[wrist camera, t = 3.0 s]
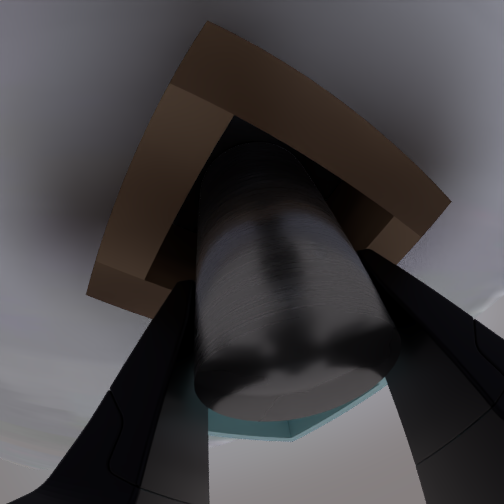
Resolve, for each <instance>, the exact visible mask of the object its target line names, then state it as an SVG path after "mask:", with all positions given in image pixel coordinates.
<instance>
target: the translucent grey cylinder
mask: <svg viewBox="0 0 504 504" xmlns="http://www.w3.org/2000/svg"><path fill="white" fill-rule="evenodd" d="M400 352H401V338H400V335H399V333H398V331H397V329H396V327H395V325H394V323H393V321H392V319H391V317H390V315H389V313H388V311H387V309H386V307H385V305H384V303H383V301H382V299H381V297H380V295H379V293H378V291H377V290H376V288H375V286H374V284H373V282H372V280H371V278H370V277H369V275H368V273H367V271H366V269H365V268H364V266H363V264H362V262H361V260H360V259H359V257H358V255H357V253H356V252H355V250H354V248H353V246H352V245H351V243H350V241H349V239H348V238H347V236H346V234H345V233H344V231H343V229H342V228H341V226H340V224H339V223H338V221H337V219H336V218H335V216H334V214H333V213H332V211H331V209H330V208H329V206H328V205H327V203H326V201H325V200H324V198H323V197H322V195H321V193H320V192H319V190H318V189H317V187H316V186H315V184H314V182H313V181H312V179H311V178H310V176H309V175H308V173H307V172H306V170H305V169H304V167H303V166H302V164H301V163H300V162H299V160H298V159H297V158H296V157H295V156H294V155H293V154H292V153H290V152H289V151H287V150H286V149H284V148H282V147H280V146H277V145H274V144H271V143H266V142H249V143H244V144H240V145H237V146H234V147H232V148H230V149H228V150H226V151H225V152H223V153H222V154H220V155H219V156H218V157H217V158H216V159H215V160H214V161H213V162H212V163H211V164H210V166H209V167H208V169H207V170H206V172H205V174H204V177H203V180H202V183H201V190H200V203H199V219H198V235H197V255H196V278H195V310H194V389H195V393H196V395H197V397H198V398H199V400H200V401H201V402H202V403H203V404H204V405H205V406H206V407H208V408H209V409H211V410H213V411H214V412H217V413H219V414H221V415H224V416H227V417H231V418H235V419H240V420H246V421H257V422H272V421H285V420H293V419H299V418H304V417H308V416H312V415H316V414H320V413H323V412H326V411H329V410H331V409H334V408H337V407H339V406H341V405H344V404H346V403H348V402H350V401H352V400H354V399H355V398H357V397H359V396H361V395H362V394H364V393H365V392H367V391H368V390H370V389H371V388H373V387H374V386H375V385H376V384H378V383H379V382H380V381H381V380H382V379H383V378H384V377H385V376H386V375H387V374H388V373H389V372H390V370H391V369H392V368H393V367H394V365H395V363H396V361H397V360H398V357H399V355H400Z"/></svg>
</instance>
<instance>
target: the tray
mask: <svg viewBox="0 0 504 504" xmlns="http://www.w3.org/2000/svg"><path fill="white" fill-rule="evenodd" d="M386 385H388V384H387V381H386V379H385V377H384V378H383V379H382V380H381V381H380V382H379V383H378V384H376V385H375V386H374V387H373V388H371V389H370V390H368V391H367V392H365V393H364V394H362V395H361V396H359V397H357V398H355V399H354V400H352V401H350V402H348V403H346V404H344V405H341V406H339V407H337V408H334V409H331V410H329V411H326V412H323V413H320V414H316V415H312V416H308V417H304V418H299V419H293V420H285V421H272V422H257V421H246V420H240V419H235V418H231V417H227V416H224V415H221V414H219V413H217V412H214V411H213V410H211V409H209V408H208V435H211V436H219V437H228V438H238V439H250V440H265V441H290V442H291V441H292V442H293V441H295V440H297V439H299V438H301V437H303V436H305V435H306V434H308V433H310V432H312V431H314V430H316V429H318V428H319V427H321V426H323V425H325V424H326V423H328V422H330V421H331V420H333V419H335V418H337V417H338V416H340V415H342V414H343V413H345V412H347V411H348V410H350V409H352V408H353V407H355V406H356V405H358V404H359V403H361V402H362V401H364V400H365V399H367V398H369V397H370V396H372V395H373V394H375V393H376V392H377V391H379V390H381V389H382V388H383V387H385V386H386Z"/></svg>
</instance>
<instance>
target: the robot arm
mask: <svg viewBox="0 0 504 504" xmlns="http://www.w3.org/2000/svg"><path fill="white" fill-rule="evenodd" d="M356 253H357V255H358V257H359V259H360V260H361V262H362V264H363V266H364V268H365V269H366V271H367V273H368V275H369V277H370V278H371V280H372V282H373V284H374V286H375V288H376V290H377V291H378V293H379V295H380V297H381V299H382V301H383V303H384V305H385V307H386V309H387V311H388V313H389V315H390V317H391V319H392V321H393V323H394V325H395V327H396V329H397V331H398V333H399V335H400V338H401V352H400V355H399V357H398V360H397V361H396V363H395V365H394V367H393V368H392V369H391V370H390V372H389V373H388V374H387V375H386V376H385V379H386V381H387V384H388V386H389V389H390V392H391V394H392V397H393V400H394V402H395V405H396V408H397V411H398V414H399V417H400V419H401V422H402V425H403V428H404V431H405V434H406V437H407V440H408V443H409V446H410V449H411V452H412V456H413V459H414V462H415V464H416V469H417V472H418V476H419V479H420V482H421V486H422V489H423V493H424V496H425V500H426V504H504V339H503V338H501V337H500V336H498V335H497V334H495V333H494V332H493V331H491V330H490V329H488V328H487V327H485V326H484V325H483V324H481V323H480V322H479V321H477V320H476V319H474V320H473V317H472V316H470V315H469V314H468V313H466V312H465V311H463V310H462V309H461V308H459V307H458V306H456V305H455V304H453V303H452V302H451V301H449V300H448V299H446V298H445V297H443V296H442V295H440V294H439V293H438V292H436V291H435V290H433V289H432V288H430V287H429V286H427V285H426V284H424V283H423V282H421V281H420V280H418V279H417V278H415V277H414V276H412V275H411V274H409V273H408V272H406V271H405V270H403V269H401V268H400V267H398V266H397V265H395V264H394V263H392V262H391V261H389V260H387V259H386V258H384V257H383V256H381V255H380V254H378V253H376V252H375V251H373V250H371V249H363V250H357V251H356ZM194 310H195V281H194V280H192V279H189V280H183V281H179V282H177V283H176V285H175V286H174V288H173V289H172V291H171V292H170V294H169V295H168V297H167V298H166V300H165V301H164V303H163V304H162V306H161V307H160V309H159V310H158V312H157V313H156V315H155V316H154V318H153V320H152V321H151V323H150V324H149V326H148V327H147V329H146V330H145V332H144V334H143V335H142V337H141V338H140V340H139V341H138V343H137V345H136V346H135V348H134V349H133V351H132V353H131V354H130V356H129V357H128V359H127V361H126V362H125V364H124V365H123V367H122V369H121V370H120V372H119V374H118V375H117V377H116V378H115V380H114V382H113V383H112V385H111V387H110V390H109V391H107V393H106V395H105V396H104V398H103V400H102V401H101V403H100V405H99V406H98V408H97V410H96V411H95V413H94V414H93V416H92V418H91V419H90V421H89V422H88V424H87V425H86V426H85V428H84V429H83V431H82V432H81V434H80V435H79V437H78V438H77V439H76V441H75V442H74V444H73V445H72V446H71V448H70V449H69V450H68V452H67V453H66V455H65V456H64V457H63V459H62V460H61V462H60V463H59V464H58V466H57V467H56V469H55V470H54V471H53V473H52V474H51V475H50V477H49V478H48V479H47V480H46V481H45V482H44V483H43V484H42V485H41V486H40V487H38V488H37V489H36V490H34V491H33V492H31V493H29V494H27V495H25V496H23V497H20V498H18V499H16V500H14V501H12V502H10V503H7V504H209V464H208V463H209V460H208V407H206V406H205V405H204V404H203V403H202V402H201V401H200V400H199V398H198V397H197V395H196V393H195V389H194Z"/></svg>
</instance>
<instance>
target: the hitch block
mask: <svg viewBox="0 0 504 504" xmlns="http://www.w3.org/2000/svg"><path fill="white" fill-rule="evenodd" d="M234 115H235V116H237V117H239V118H241V119H243V120H245V121H247V122H248V123H250V124H252V125H254V126H256V127H257V128H259V129H261V130H263V131H265V132H266V133H268V134H270V135H272V136H273V137H275V138H277V139H278V140H280V141H282V142H284V143H285V144H287V145H289V146H290V147H292V148H294V149H295V150H297V151H299V152H300V153H302V154H303V155H305V156H307V157H308V158H310V159H312V160H313V161H315V162H316V163H318V164H319V165H321V166H323V167H324V168H326V169H327V170H329V171H330V172H332V173H333V174H335V175H336V176H338V177H339V178H341V179H342V181H341V183H340V184H339V185H338V187H337V188H336V189H335V190H334V192H333V193H332V194H331V195H330V197H329V198H328V199H327V201H326V203H327V205H328V206H329V208H330V209H331V211H332V213H333V214H334V216H335V218H336V219H337V221H338V223H339V224H340V226H341V228H342V229H343V231H344V233H345V234H346V236H347V238H348V239H349V241H350V243H351V245H352V246H353V248H354V250H355V252H356V251H357V250H363V249H371V250H373V251H375V252H376V253H378V254H380V255H381V256H383V257H384V258H386V259H387V260H389V261H391V262H392V263H394V264H395V265H397V264H398V263H399V261H400V260H401V259H402V258H403V257H404V256H405V255H406V254H407V253H408V252H409V251H410V249H411V248H412V247H413V246H414V245H415V244H416V243H417V242H418V241H419V239H420V238H421V237H422V236H423V235H424V234H425V233H426V231H427V230H428V229H429V228H430V227H431V226H432V225H433V223H434V222H435V221H436V220H437V219H438V217H439V216H440V215H441V214H442V213H443V211H444V210H445V209H446V208H447V207H448V205H449V204H450V203H451V202H452V201H451V200H450V199H449V198H448V197H447V196H446V195H445V194H444V193H443V192H442V191H441V190H440V188H439V187H438V186H437V185H436V184H435V183H434V182H433V181H432V180H431V179H430V178H429V177H428V176H427V175H426V174H425V173H424V172H423V171H422V170H421V169H420V168H419V167H418V166H417V165H416V164H415V163H414V162H412V161H411V160H410V159H409V158H408V157H407V156H406V155H405V154H404V153H403V152H402V151H401V150H400V149H398V148H397V147H396V146H395V145H394V144H393V143H392V142H391V141H390V140H388V139H387V138H386V137H385V136H384V135H383V134H381V133H380V132H379V131H378V130H377V129H376V128H374V127H373V126H372V125H371V124H370V123H368V122H367V121H366V120H365V119H363V118H362V117H361V116H360V115H358V114H357V113H356V112H355V111H353V110H352V109H351V108H349V107H348V106H347V105H346V104H344V103H343V102H342V101H340V100H339V99H338V98H336V97H335V96H333V95H332V94H331V93H329V92H328V91H327V90H325V89H324V88H322V87H321V86H319V85H318V84H317V83H315V82H314V81H312V80H311V79H309V78H308V77H306V76H305V75H303V74H302V73H300V72H299V71H297V70H296V69H294V68H293V67H291V66H289V65H288V64H286V63H285V62H283V61H281V60H280V59H278V58H276V57H275V56H273V55H271V54H270V53H268V52H266V51H265V50H263V49H261V48H259V47H258V46H256V45H254V44H252V43H250V42H249V41H247V40H245V39H243V38H241V37H239V36H237V35H236V34H234V33H232V32H230V31H228V30H226V29H224V28H222V27H220V26H218V25H216V24H214V23H211V22H209V21H207V22H206V23H205V25H204V26H203V28H202V29H201V31H200V33H199V34H198V36H197V37H196V39H195V40H194V42H193V44H192V45H191V47H190V49H189V50H188V52H187V53H186V55H185V57H184V59H183V60H182V62H181V64H180V65H179V67H178V69H177V71H176V72H175V74H174V76H173V78H172V79H171V81H170V83H169V85H168V87H167V89H166V91H165V92H164V94H163V96H162V98H161V100H160V102H159V104H158V106H157V108H156V110H155V112H154V114H153V116H152V118H151V120H150V122H149V124H148V126H147V128H146V130H145V132H144V135H143V137H142V139H141V141H140V143H139V145H138V148H137V150H136V152H135V154H134V157H133V159H132V161H131V164H130V166H129V168H128V171H127V173H126V176H125V178H124V181H123V183H122V186H121V188H120V191H119V193H118V196H117V199H116V201H115V204H114V207H113V209H112V212H111V215H110V218H109V221H108V223H107V226H106V229H105V232H104V235H103V238H102V241H101V244H100V248H99V251H98V254H97V257H96V261H95V264H94V267H93V271H92V274H91V278H90V281H89V285H88V289H87V293H86V295H88V296H90V297H93V298H95V299H98V300H101V301H103V302H106V303H109V304H111V305H114V306H117V307H119V308H122V309H125V310H128V311H131V312H133V313H136V314H139V315H142V316H145V317H148V318H151V319H153V318H154V316H155V315H156V313H157V312H158V310H159V309H160V307H161V306H162V304H163V303H164V301H165V300H166V298H167V297H168V295H169V294H170V292H171V291H172V289H173V288H174V286H175V285H176V283H177V282H179V281H183V280H189V279H192V280H194V281H195V278H196V255H197V235H198V234H196V233H193V232H191V231H188V230H186V229H184V228H181V227H179V226H176V225H174V224H172V223H173V221H174V219H175V217H176V215H177V213H178V211H179V210H180V208H181V206H182V204H183V202H184V200H185V198H186V197H187V195H188V193H189V191H190V189H191V188H192V186H193V184H194V182H195V180H196V179H197V177H198V175H199V173H200V171H201V170H202V168H203V166H204V164H205V163H206V161H207V159H208V158H209V156H210V154H211V152H212V151H213V149H214V147H215V146H216V144H217V142H218V141H219V139H220V137H221V136H222V134H223V132H224V131H225V129H226V127H227V126H228V124H229V123H230V121H231V119H232V118H233V116H234Z"/></svg>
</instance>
